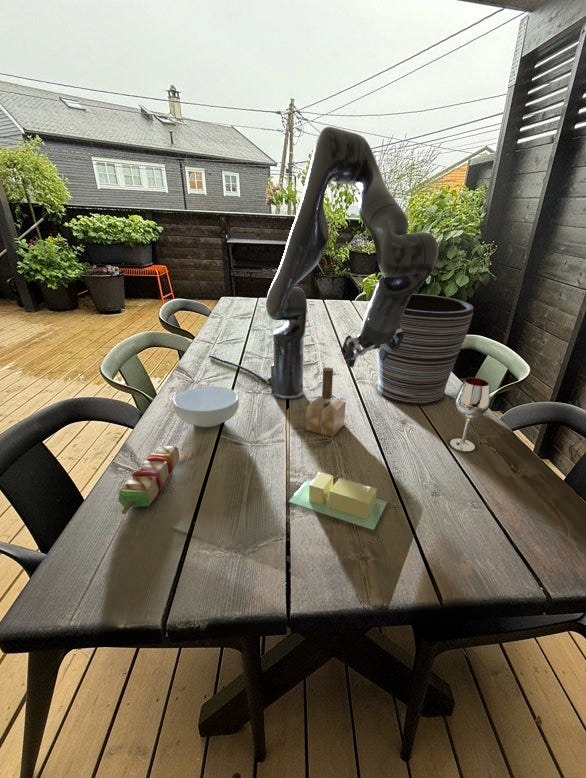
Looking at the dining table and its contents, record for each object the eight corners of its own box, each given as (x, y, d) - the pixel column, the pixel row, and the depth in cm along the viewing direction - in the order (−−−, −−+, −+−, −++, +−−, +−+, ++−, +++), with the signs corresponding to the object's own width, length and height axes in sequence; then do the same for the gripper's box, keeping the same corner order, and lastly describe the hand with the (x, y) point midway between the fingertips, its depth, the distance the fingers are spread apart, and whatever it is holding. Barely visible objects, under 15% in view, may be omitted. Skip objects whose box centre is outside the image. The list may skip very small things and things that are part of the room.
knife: (319, 428, 109) (321, 369, 102) (323, 424, 111) (325, 366, 104) (327, 430, 108) (330, 371, 101) (331, 426, 111) (334, 368, 103)
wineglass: (478, 441, 107) (494, 379, 99) (478, 456, 100) (494, 390, 92) (447, 435, 109) (460, 373, 101) (445, 449, 102) (458, 384, 94)
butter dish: (288, 504, 80) (288, 485, 78) (308, 481, 87) (308, 462, 85) (373, 533, 74) (375, 512, 72) (387, 504, 81) (389, 485, 79)
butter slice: (308, 501, 80) (309, 484, 78) (319, 487, 84) (320, 471, 82) (322, 505, 79) (323, 489, 77) (332, 491, 83) (333, 475, 81)
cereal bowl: (252, 416, 114) (251, 393, 110) (212, 441, 100) (210, 416, 97) (205, 403, 120) (202, 381, 117) (162, 425, 106) (158, 401, 103)
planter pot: (450, 418, 119) (471, 317, 105) (354, 399, 127) (362, 304, 114) (458, 384, 144) (476, 300, 131) (378, 370, 153) (387, 290, 139)
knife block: (305, 429, 108) (306, 406, 105) (318, 418, 115) (319, 396, 111) (332, 436, 105) (334, 413, 102) (344, 424, 112) (345, 401, 109)
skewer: (156, 460, 91) (153, 441, 89) (184, 462, 91) (182, 443, 89) (107, 522, 73) (101, 500, 71) (142, 524, 73) (138, 502, 71)
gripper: (405, 299, 88) (385, 343, 102) (345, 309, 84) (333, 354, 98) (419, 325, 85) (397, 367, 99) (358, 337, 81) (344, 379, 95)
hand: (365, 361), depth 98 cm, fingers open, 8 cm apart
